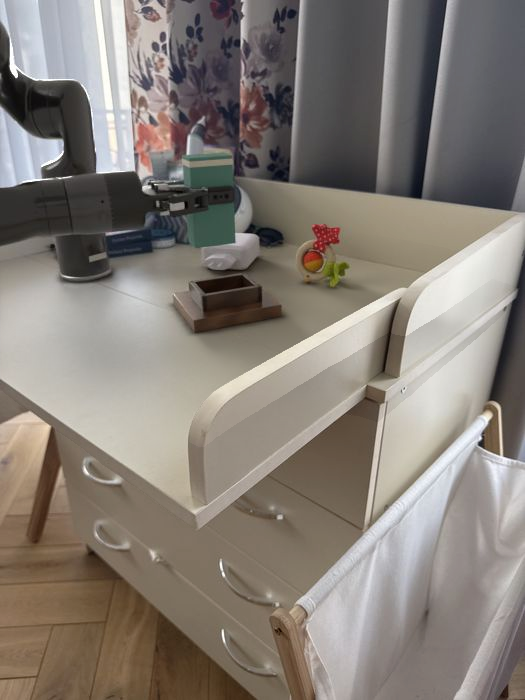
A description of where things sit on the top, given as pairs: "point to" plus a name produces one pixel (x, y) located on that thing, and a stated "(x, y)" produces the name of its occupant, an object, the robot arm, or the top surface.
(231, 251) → the charger
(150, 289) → the top surface
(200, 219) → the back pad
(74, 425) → the top surface
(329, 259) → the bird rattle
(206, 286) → the seat base
